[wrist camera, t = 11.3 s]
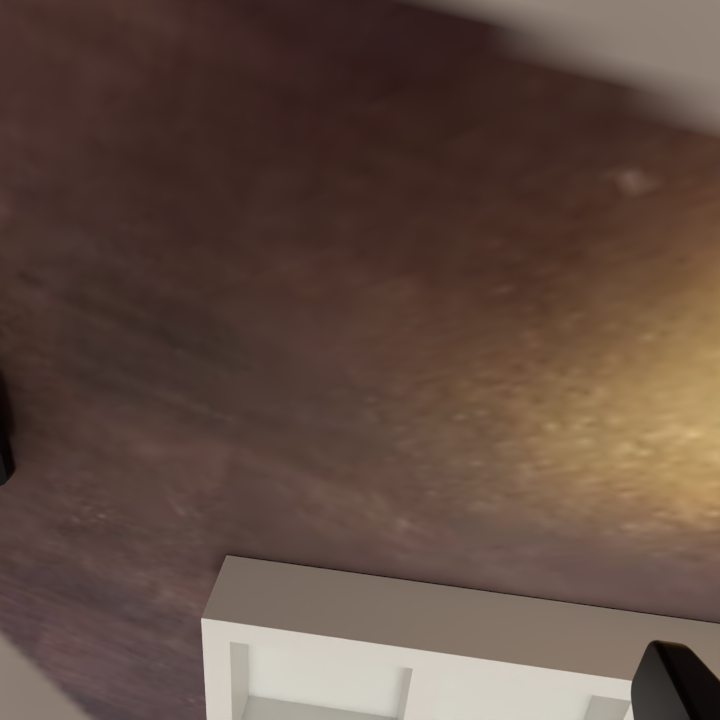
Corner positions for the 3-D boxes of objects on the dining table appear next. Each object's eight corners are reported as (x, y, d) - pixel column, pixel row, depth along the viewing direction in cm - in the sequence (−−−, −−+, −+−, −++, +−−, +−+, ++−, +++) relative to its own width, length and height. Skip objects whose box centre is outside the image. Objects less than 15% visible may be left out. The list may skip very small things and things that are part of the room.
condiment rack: (230, 693, 29) (209, 761, 26) (226, 554, 25) (201, 618, 22) (774, 777, 27) (811, 857, 24) (863, 644, 23) (918, 722, 21)
